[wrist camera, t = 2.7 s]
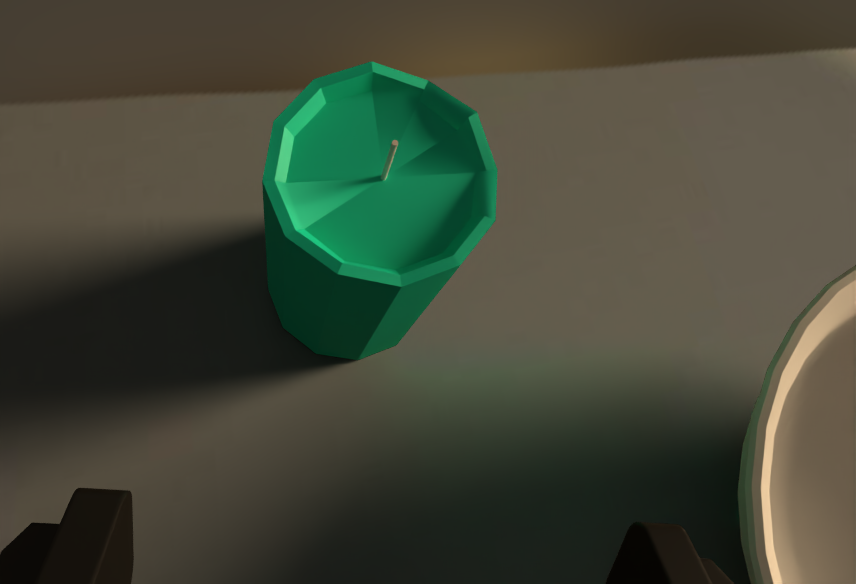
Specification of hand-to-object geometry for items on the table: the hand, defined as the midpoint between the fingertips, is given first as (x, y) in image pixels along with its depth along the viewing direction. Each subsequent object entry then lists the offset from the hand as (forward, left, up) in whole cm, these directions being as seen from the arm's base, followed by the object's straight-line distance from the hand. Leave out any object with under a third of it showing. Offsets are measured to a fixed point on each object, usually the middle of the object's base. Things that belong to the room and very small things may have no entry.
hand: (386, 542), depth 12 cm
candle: (+5, +6, -15) cm, 17 cm away
